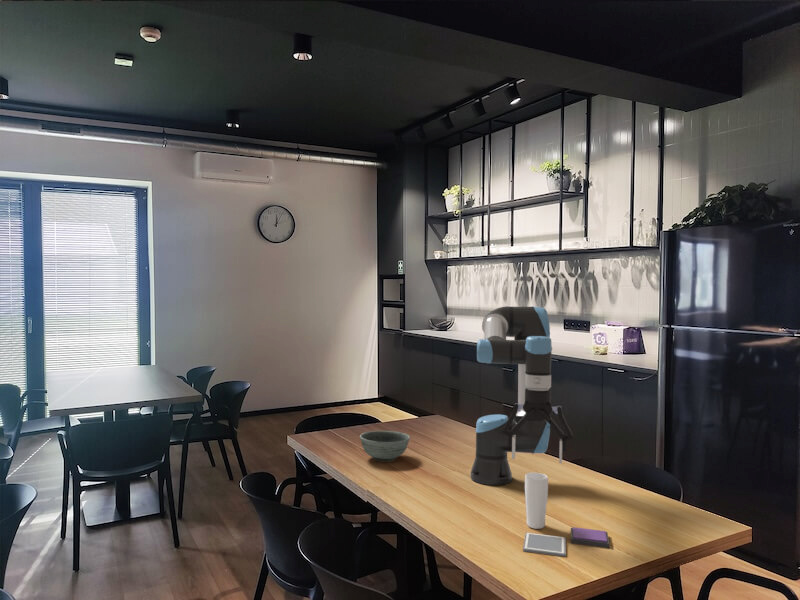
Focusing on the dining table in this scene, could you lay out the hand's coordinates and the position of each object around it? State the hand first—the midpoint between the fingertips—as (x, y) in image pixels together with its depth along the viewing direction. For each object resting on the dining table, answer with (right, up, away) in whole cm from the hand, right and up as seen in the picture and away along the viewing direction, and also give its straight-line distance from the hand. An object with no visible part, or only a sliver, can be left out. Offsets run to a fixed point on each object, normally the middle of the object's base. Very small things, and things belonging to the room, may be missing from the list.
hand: (536, 460), depth 170 cm
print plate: (-1, -20, -12) cm, 24 cm away
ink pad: (+13, -20, -8) cm, 25 cm away
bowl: (-47, -18, +66) cm, 83 cm away
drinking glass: (0, -20, +1) cm, 20 cm away
